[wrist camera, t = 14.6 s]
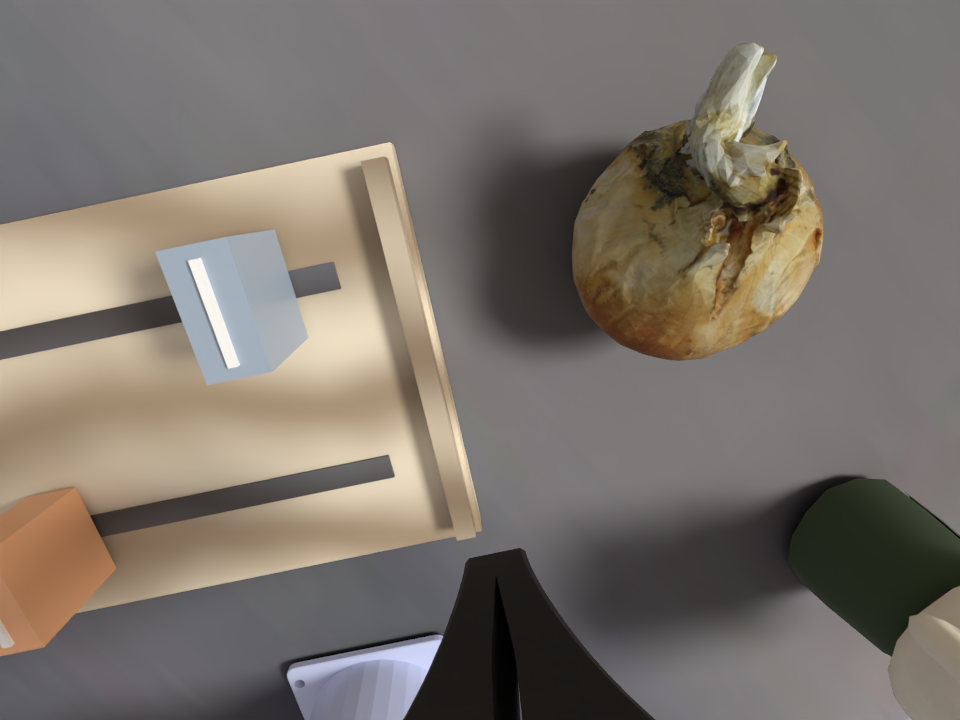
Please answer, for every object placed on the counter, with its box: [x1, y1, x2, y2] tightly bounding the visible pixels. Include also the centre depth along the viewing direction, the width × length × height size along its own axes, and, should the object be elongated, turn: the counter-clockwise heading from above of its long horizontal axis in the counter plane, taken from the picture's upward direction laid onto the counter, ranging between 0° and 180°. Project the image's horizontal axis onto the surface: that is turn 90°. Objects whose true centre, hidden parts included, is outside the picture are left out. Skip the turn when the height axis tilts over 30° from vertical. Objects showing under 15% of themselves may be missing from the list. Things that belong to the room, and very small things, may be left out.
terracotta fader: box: [0, 487, 116, 656], centre depth 19 cm, size 4×2×4 cm, turn 11°
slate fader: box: [155, 229, 309, 385], centre depth 16 cm, size 4×2×4 cm, turn 11°
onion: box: [572, 43, 823, 361], centre depth 16 cm, size 8×8×8 cm
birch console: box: [0, 142, 482, 613], centre depth 20 cm, size 16×22×2 cm
